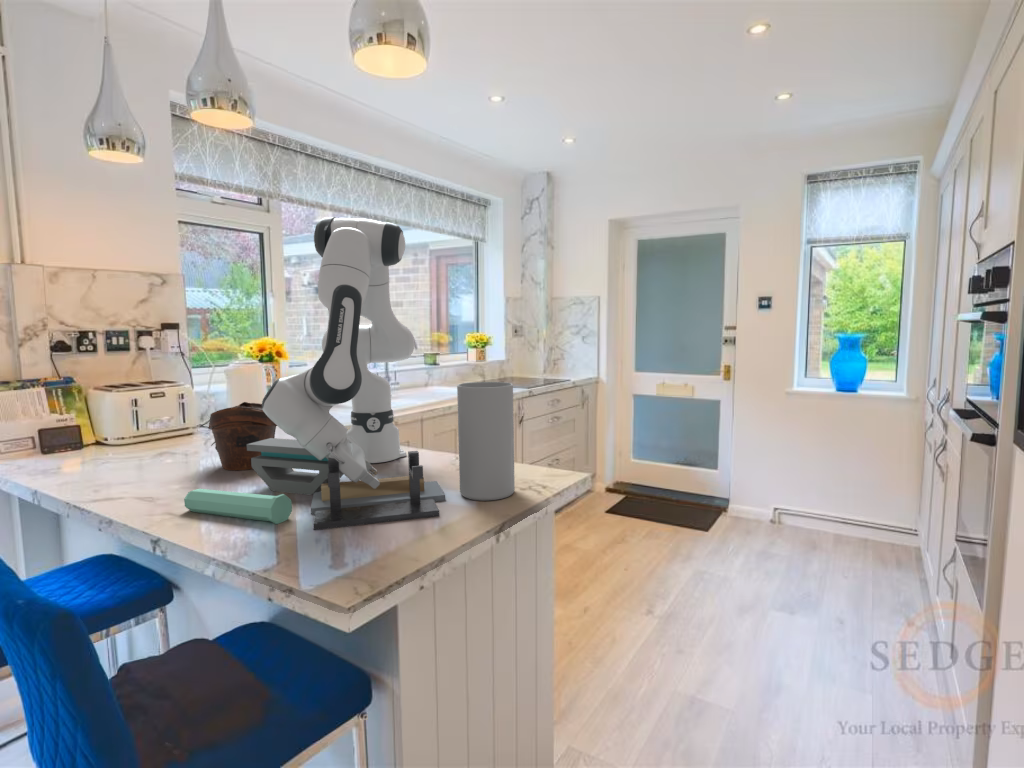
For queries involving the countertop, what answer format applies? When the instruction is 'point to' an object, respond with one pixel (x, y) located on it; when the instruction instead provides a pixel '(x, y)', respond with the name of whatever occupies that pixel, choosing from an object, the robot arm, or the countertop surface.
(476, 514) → the countertop surface
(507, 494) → the cylinder vase
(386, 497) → the rubber mat
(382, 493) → the oak rail
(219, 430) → the brown tapered pot
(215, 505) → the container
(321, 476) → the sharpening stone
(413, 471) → the hook stand
